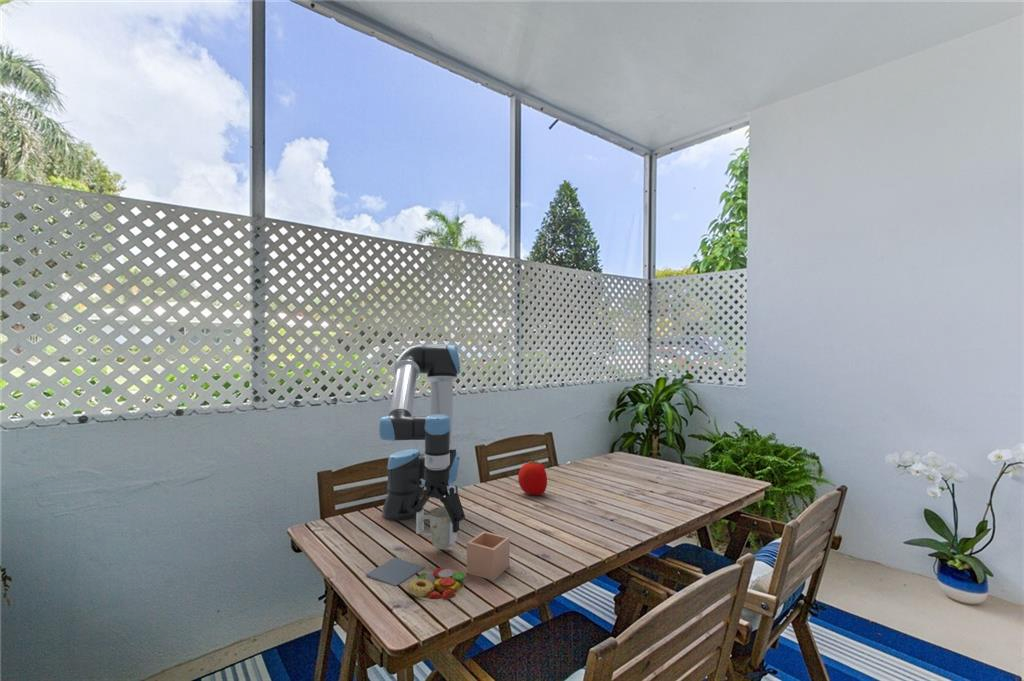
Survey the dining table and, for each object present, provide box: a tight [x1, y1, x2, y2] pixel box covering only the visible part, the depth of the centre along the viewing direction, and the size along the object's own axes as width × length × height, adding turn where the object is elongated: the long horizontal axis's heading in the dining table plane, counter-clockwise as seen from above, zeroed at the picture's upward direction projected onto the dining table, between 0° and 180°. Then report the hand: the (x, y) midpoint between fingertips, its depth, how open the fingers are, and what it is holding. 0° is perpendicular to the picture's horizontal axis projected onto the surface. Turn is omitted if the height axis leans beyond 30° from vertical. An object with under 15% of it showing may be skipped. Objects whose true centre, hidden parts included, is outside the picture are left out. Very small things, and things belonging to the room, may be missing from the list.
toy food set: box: [407, 567, 467, 603], centre depth 114 cm, size 13×13×3 cm
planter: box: [466, 530, 511, 581], centre depth 122 cm, size 9×9×9 cm
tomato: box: [517, 460, 548, 496], centre depth 186 cm, size 13×11×14 cm
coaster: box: [365, 557, 425, 587], centre depth 122 cm, size 11×11×1 cm
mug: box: [418, 506, 454, 550], centre depth 134 cm, size 8×13×10 cm, turn 78°
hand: (436, 537), depth 134 cm, fingers closed on mug, 12 cm apart
